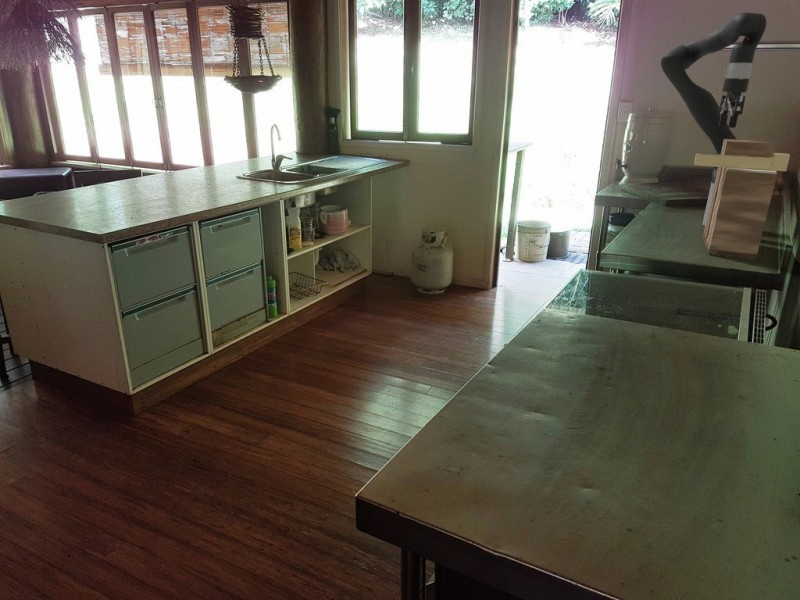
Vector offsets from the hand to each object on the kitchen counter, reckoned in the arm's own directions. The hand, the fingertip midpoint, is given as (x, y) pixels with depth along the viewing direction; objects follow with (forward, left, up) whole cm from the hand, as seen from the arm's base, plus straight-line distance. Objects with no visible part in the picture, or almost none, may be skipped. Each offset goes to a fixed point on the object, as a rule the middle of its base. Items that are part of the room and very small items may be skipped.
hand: (726, 126), depth 202 cm
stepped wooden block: (+15, +3, -40) cm, 43 cm away
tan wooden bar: (+21, -2, -12) cm, 24 cm away
